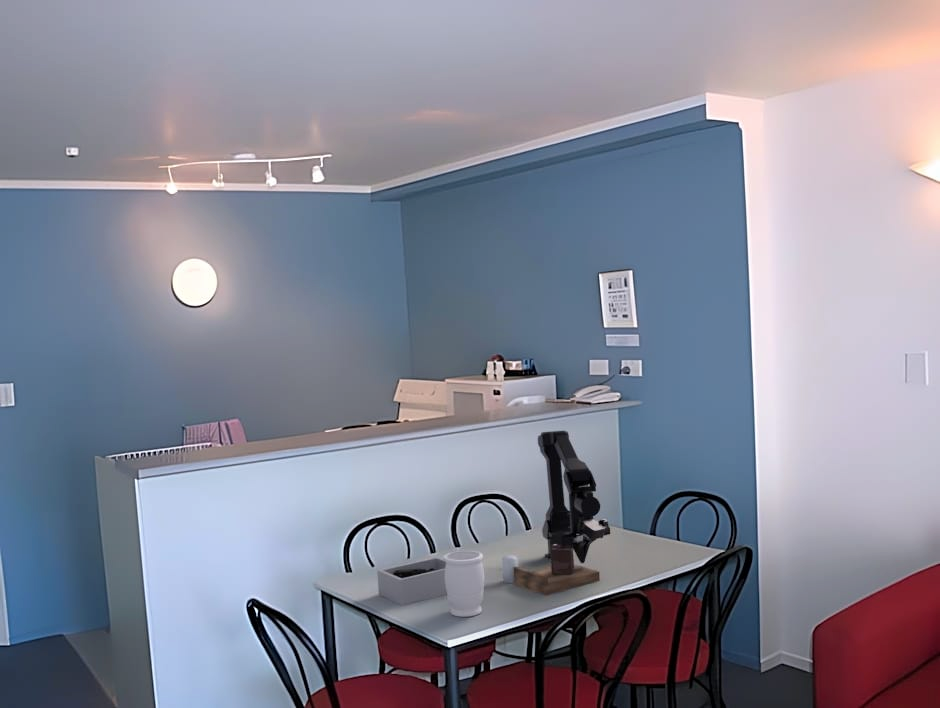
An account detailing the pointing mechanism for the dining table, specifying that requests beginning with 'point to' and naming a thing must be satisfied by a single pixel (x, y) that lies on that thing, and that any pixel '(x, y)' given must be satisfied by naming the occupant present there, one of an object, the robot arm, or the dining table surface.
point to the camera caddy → (413, 582)
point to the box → (562, 559)
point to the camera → (411, 572)
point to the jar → (464, 582)
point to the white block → (509, 568)
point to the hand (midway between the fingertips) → (582, 562)
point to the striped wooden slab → (553, 579)
